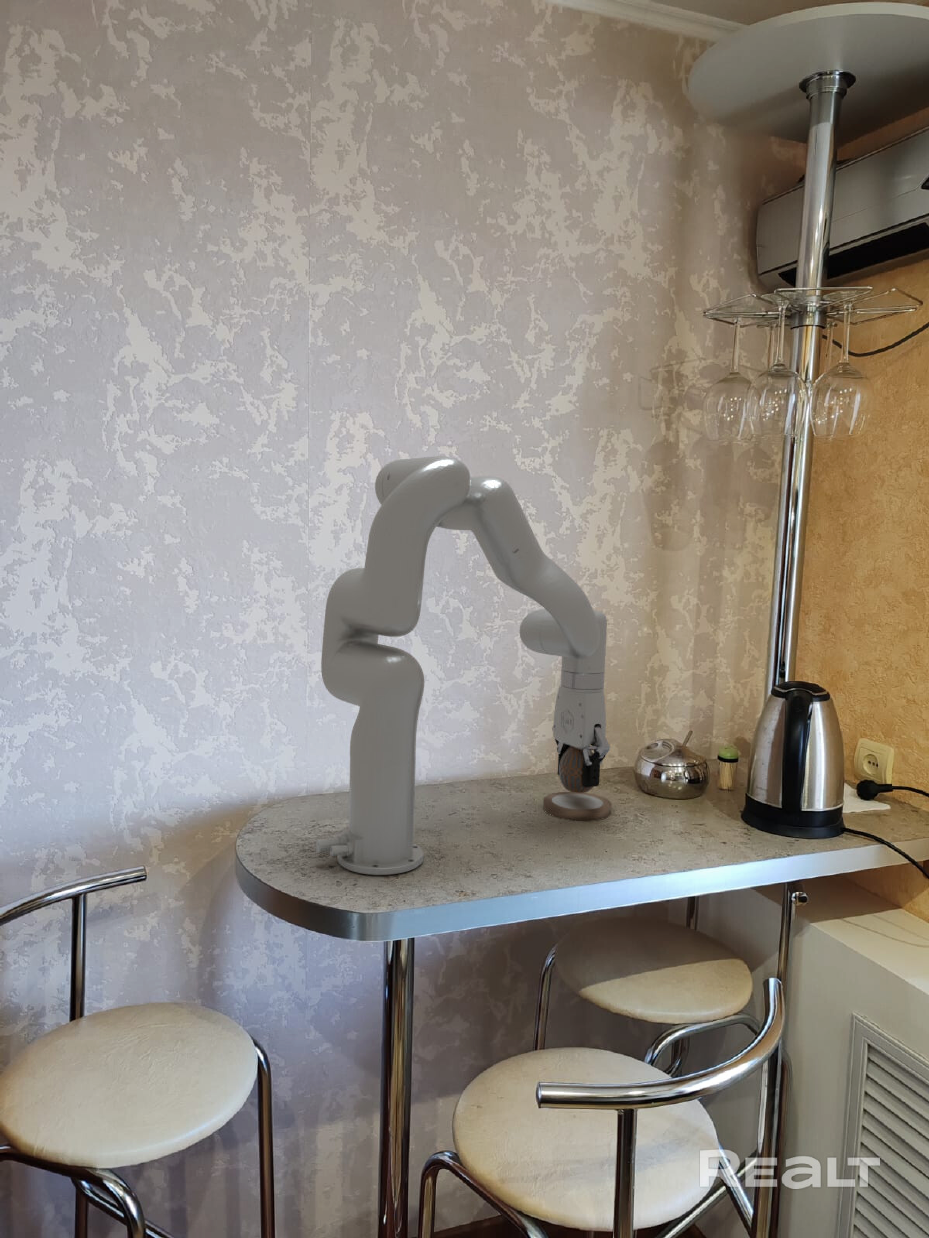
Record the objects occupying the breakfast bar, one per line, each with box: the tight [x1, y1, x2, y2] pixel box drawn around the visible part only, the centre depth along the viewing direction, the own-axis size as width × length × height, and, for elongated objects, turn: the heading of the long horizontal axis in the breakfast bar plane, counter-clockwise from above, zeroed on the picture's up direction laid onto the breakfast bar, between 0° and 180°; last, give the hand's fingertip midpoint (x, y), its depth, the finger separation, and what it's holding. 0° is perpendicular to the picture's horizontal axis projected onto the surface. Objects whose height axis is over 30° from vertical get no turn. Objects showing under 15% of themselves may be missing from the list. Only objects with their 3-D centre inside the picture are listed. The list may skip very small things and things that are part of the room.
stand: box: [542, 791, 613, 822], centre depth 157 cm, size 12×12×2 cm
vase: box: [558, 746, 594, 793], centre depth 157 cm, size 7×7×9 cm
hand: (577, 779), depth 157 cm, fingers closed on vase, 6 cm apart
